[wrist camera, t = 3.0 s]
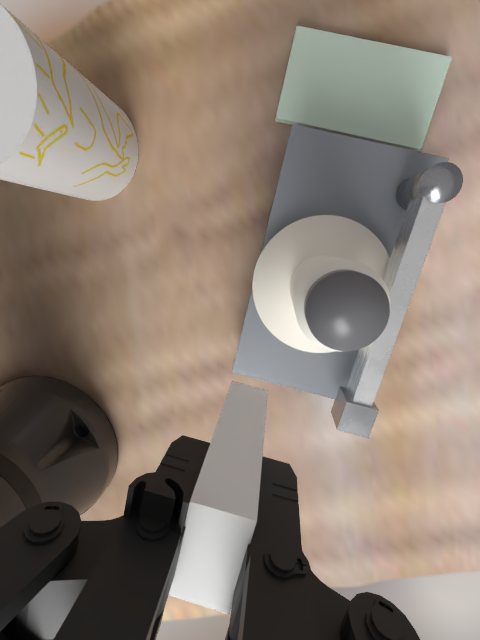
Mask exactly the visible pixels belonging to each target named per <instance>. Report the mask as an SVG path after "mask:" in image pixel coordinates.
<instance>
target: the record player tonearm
mask: <svg viewBox="0 0 480 640" xmlns="http://www.w3.org/2000/svg"><path fill="white" fill-rule="evenodd" d="M462 183H463V176H462V173H461V171H460V169H459V168H458V167H457V166H456V165H455V164H453V163H450V162H441V163H438V164H435V165H433V166H431V167H429V168H428V169H426V170H424V171H422V172H420V173H418V174H416V175H414V176H412V177H410V178H408V179H406V180H404V181H403V182H402V183H401V184H400V185H399V186H398V188H397V191H396V201H397V203H398V205H399V206H400V207H401V208H403V209H405V210H406V212H405V215H404V218H403V221H402V224H401V227H400V230H399V233H398V236H397V239H396V242H395V245H394V248H393V251H392V254H391V257H390V260H389V263H388V266H387V269H386V272H385V275H384V278H383V280H384V282H385V284H386V286H387V288H388V291H389V294H390V315H389V320H388V323H387V325H386V328H385V329H384V331H383V332H382V334H381V335H380V336H379V337H378V338H377V339H376V340H375V341H374V342H373V343H371V344H370V345H368V346H366V347H364V348H362V349H359V352H358V355H357V358H356V360H355V363H354V366H353V369H352V372H351V375H350V378H349V381H348V384H347V387H342V386H339V389H338V392H337V395H336V399H335V402H334V405H333V408H332V411H331V412H332V416H333V419H334V422H335V425H336V428H337V430H339V431H343V432H347V433H350V434H354V435H358V436H362V437H365V438H369V435H370V433H371V430H372V427H373V425H374V422H375V419H376V416H377V414H378V411H379V410H378V408H377V407H376V405H375V403H374V402H373V401H374V399H375V396H376V393H377V390H378V388H379V385H380V382H381V379H382V377H383V374H384V371H385V368H386V366H387V363H388V360H389V357H390V355H391V352H392V349H393V346H394V344H395V341H396V338H397V335H398V333H399V330H400V327H401V324H402V322H403V319H404V316H405V313H406V311H407V308H408V305H409V302H410V300H411V297H412V294H413V291H414V289H415V286H416V283H417V280H418V278H419V275H420V272H421V269H422V267H423V264H424V261H425V258H426V256H427V253H428V250H429V247H430V245H431V242H432V239H433V236H434V234H435V231H436V228H437V225H438V223H439V220H440V217H441V214H442V212H443V209H444V206H445V203H446V202H447V201H449V200H451V199H453V198H454V197H455V196H456V195H457V194H458V193H459V191H460V189H461V187H462Z"/></svg>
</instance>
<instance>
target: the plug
mask: <svg viewBox="0 0 480 640" xmlns="http://www.w3.org/2000/svg"><path fill="white" fill-rule="evenodd" d="M389 260H390V258H389V255H388V253H387V251H386V249H385V248H384V246H383V244H382V243H381V241H380V240H379V239H378V238H377V237H376V236H375V235H374V234H373V233H372V232H371V231H370V230H369V229H368V228H366V227H364V226H363V225H361V224H360V223H358V222H356V221H353V220H351V219H348V218H345V217H341V216H335V215H318V216H311V217H307V218H303V219H301V220H298V221H296V222H294V223H292V224H290V225H288V226H286V227H285V228H284V229H282V230H281V231H279V232H278V233H277V234H276V235H275V236H274V237H273V238H272V239H271V240H270V241H269V242H268V244H267V245H266V246H265V248H264V249H263V251H262V253H261V254H260V257H259V259H258V261H257V264H256V267H255V270H254V275H253V286H252V289H253V299H254V303H255V307H256V309H257V312H258V314H259V316H260V318H261V320H262V322H263V323H264V325H265V326H266V328H267V329H268V330H269V331H270V332H271V333H272V334H273V335H274V336H275V337H276V338H278V339H279V340H280V341H282V342H283V343H285V344H287V345H289V346H291V347H293V348H295V349H298V350H301V351H306V352H311V353H329V352H335V351H354V350H358V349H362V348H364V347H366V346H368V345H370V344H371V343H373V342H374V341H375V340H376V339H377V338H378V337H379V336H380V335H381V334H382V332H383V331H384V329H385V328H386V325H387V323H388V320H389V315H390V294H389V291H388V288H387V286H386V284H385V282H384V280H383V278H384V275H385V272H386V269H387V266H388V263H389Z"/></svg>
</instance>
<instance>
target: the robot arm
mask: <svg viewBox="0 0 480 640" xmlns="http://www.w3.org/2000/svg"><path fill="white" fill-rule="evenodd" d="M267 396H268V390H264V389H260V388H257V387H253V386H249V385H245V384H242V383H238V382H234V381H232V383H231V386H230V389H229V392H228V394H227V397H226V400H225V403H224V406H223V409H222V411H221V414H220V417H219V420H218V423H217V426H216V429H215V431H214V434H213V437H212V440H211V443H208V442H205V441H201V440H197V439H194V438H190V437H187V436H181V437H180V438H178V439H177V440H175V441H174V442H172V443H171V445H170V447H169V448H168V450H167V452H166V454H165V456H164V458H163V459H162V461H161V463H160V465H159V467H158V469H157V470H156V472H154V473H147V474H144V475H142V476H140V477H138V478H136V479H135V480H134V481H133V482H132V483H131V484H130V485H129V488H128V494H127V500H126V505H125V511H124V515H123V516H121V517H119V518H116V519H112V520H105V521H81V519H80V515H81V514H83V513H84V512H86V511H87V510H88V509H89V508H91V507H92V506H93V505H94V504H95V503H96V501H97V500H98V499H99V498H100V496H101V495H102V494H103V492H104V491H105V489H106V488H107V486H108V485H109V483H110V482H111V480H112V478H113V476H114V474H115V470H116V467H117V460H118V449H117V443H116V438H115V435H114V432H113V429H112V427H111V425H110V423H109V421H108V419H107V418H106V416H105V415H104V413H103V412H102V410H101V409H100V408H99V407H98V406H97V405H96V403H95V402H94V401H93V400H91V399H90V398H89V397H88V396H87V395H86V394H84V393H83V392H82V391H80V390H78V389H77V388H75V387H73V386H72V385H70V384H67V383H65V382H62V381H60V380H57V379H53V378H48V377H40V376H31V377H23V378H18V379H15V380H13V381H10V382H8V383H6V384H4V385H2V386H0V640H156V637H157V634H158V630H159V627H160V624H161V620H162V616H163V612H164V607H165V604H166V601H167V598H168V595H169V596H172V597H175V598H178V599H182V600H185V601H188V602H191V603H195V604H198V605H201V606H204V607H207V608H211V609H214V610H217V611H220V612H223V613H227V614H229V613H230V610H231V607H232V610H231V617H230V624H229V628H228V631H227V635H226V638H225V640H420V639H419V637H418V635H417V633H416V631H415V629H414V628H413V626H412V625H411V623H410V622H409V621H408V619H407V618H406V616H405V615H404V614H403V613H402V612H401V611H400V610H399V609H398V608H397V607H396V606H395V605H394V604H392V603H391V602H390V601H388V600H386V599H385V598H383V597H382V596H380V595H376V594H373V593H369V592H365V593H360V594H357V595H356V596H355V597H354V598H353V599H352V600H351V601H349V600H348V599H346V598H345V597H343V596H341V595H340V594H338V593H337V592H335V591H334V590H332V589H330V588H329V587H328V586H326V585H325V584H324V583H322V582H321V581H320V580H319V579H318V578H317V577H316V576H315V575H314V574H313V572H312V571H311V569H310V565H309V562H308V560H307V558H306V557H305V555H304V554H303V552H302V546H301V532H300V518H299V504H298V493H297V477H296V475H295V473H294V471H293V470H292V468H291V466H290V464H287V463H284V462H280V461H277V460H273V459H270V458H266V457H262V456H263V444H264V432H265V420H266V408H267Z"/></svg>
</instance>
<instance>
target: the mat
mask: <svg viewBox="0 0 480 640" xmlns="http://www.w3.org/2000/svg"><path fill="white" fill-rule="evenodd" d="M451 59H452V57H450V56H445V55H440V54H435V53H430V52H425V51H420V50H415V49H411V48H406V47H401V46H396V45H391V44H386V43H381V42H376V41H371V40H366V39H361V38H356V37H351V36H347V35H342V34H337V33H332V32H327V31H322V30H317V29H312V28H307V27H302V26H297V27H296V31H295V36H294V40H293V44H292V49H291V53H290V57H289V62H288V66H287V70H286V75H285V79H284V83H283V88H282V92H281V96H280V101H279V105H278V109H277V114H276V122H281V123H285V124H290V125H292V124H295V125H299V126H304V127H308V128H313V129H317V130H322V131H326V132H331V133H336V134H340V135H345V136H349V137H354V138H358V139H363V140H368V141H372V142H377V143H381V144H386V145H390V146H395V147H399V148H404V149H409V150H413V151H420V150H421V149H422V146H423V143H424V140H425V137H426V134H427V131H428V128H429V125H430V122H431V119H432V116H433V113H434V110H435V107H436V104H437V101H438V98H439V95H440V92H441V89H442V86H443V83H444V80H445V77H446V74H447V71H448V68H449V65H450V62H451Z"/></svg>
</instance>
